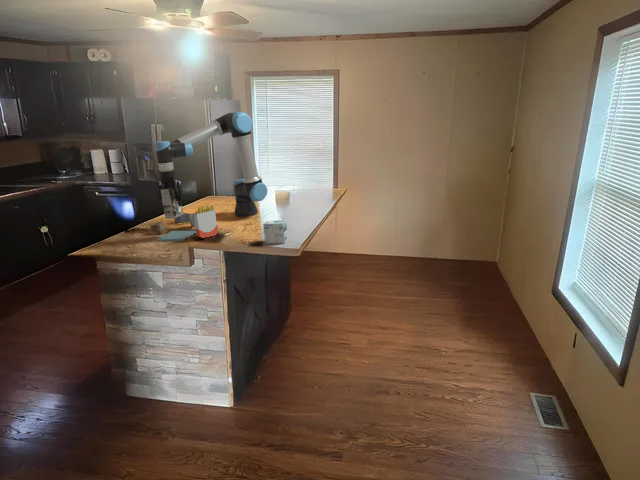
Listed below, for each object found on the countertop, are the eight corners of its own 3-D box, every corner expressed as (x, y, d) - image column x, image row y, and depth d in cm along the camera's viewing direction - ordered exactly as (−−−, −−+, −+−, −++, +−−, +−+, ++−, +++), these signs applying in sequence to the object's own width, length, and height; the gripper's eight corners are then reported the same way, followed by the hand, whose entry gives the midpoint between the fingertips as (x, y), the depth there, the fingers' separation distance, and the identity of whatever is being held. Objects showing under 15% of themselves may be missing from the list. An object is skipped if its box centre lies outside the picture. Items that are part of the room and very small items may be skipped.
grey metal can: (203, 225, 266) (201, 212, 264) (198, 228, 261) (196, 215, 258) (194, 225, 267) (191, 213, 265) (189, 228, 262) (187, 215, 259)
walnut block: (166, 232, 258) (164, 222, 256) (161, 235, 252) (159, 225, 250) (157, 232, 259) (155, 222, 257) (151, 235, 253) (150, 225, 251)
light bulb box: (288, 239, 226) (286, 219, 223) (285, 243, 220) (283, 223, 216) (268, 240, 228) (266, 220, 224) (264, 244, 221) (262, 223, 218)
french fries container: (196, 239, 238) (191, 207, 233) (214, 234, 245) (209, 203, 240) (201, 240, 235) (195, 208, 229) (218, 235, 242) (214, 204, 236)
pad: (197, 232, 251) (197, 230, 251) (184, 241, 236) (183, 239, 236) (172, 232, 255) (172, 230, 254) (157, 241, 240) (157, 239, 239)
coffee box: (175, 218, 237) (170, 189, 232) (164, 218, 238) (159, 189, 234) (183, 214, 246) (179, 185, 241) (173, 214, 247) (168, 186, 242)
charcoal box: (191, 221, 280) (190, 213, 278) (181, 224, 274) (180, 216, 272) (185, 220, 283) (184, 212, 282) (175, 223, 277) (173, 215, 275)
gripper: (146, 172, 233) (154, 214, 240) (179, 170, 229) (186, 213, 236) (154, 170, 240) (161, 210, 247) (186, 168, 236) (193, 210, 243)
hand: (173, 212), depth 241 cm, fingers closed on coffee box, 6 cm apart
